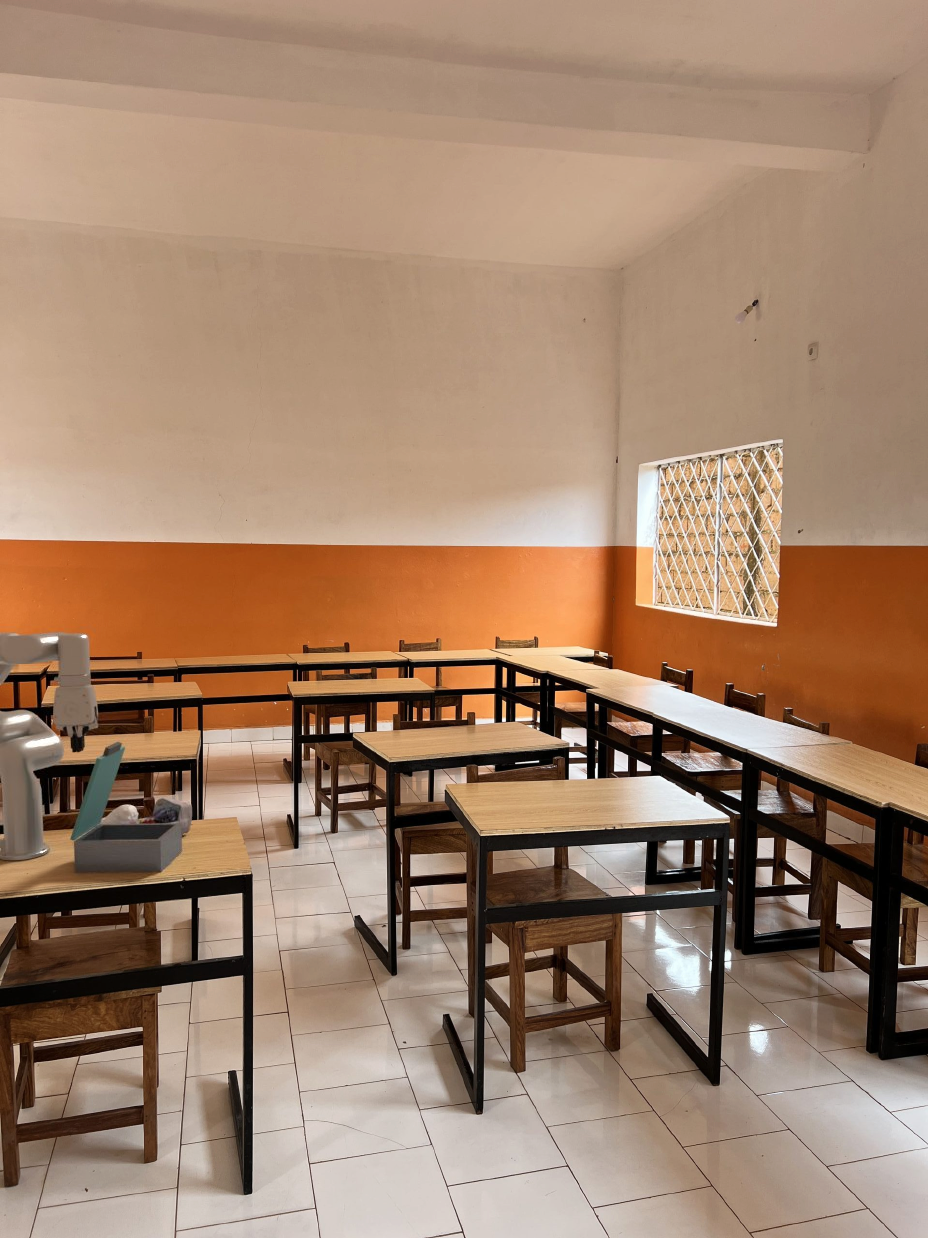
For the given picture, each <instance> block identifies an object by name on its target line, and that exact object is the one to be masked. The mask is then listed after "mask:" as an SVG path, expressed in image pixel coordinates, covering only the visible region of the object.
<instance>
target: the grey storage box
mask: <svg viewBox="0 0 928 1238" xmlns="http://www.w3.org/2000/svg"><path fill="white" fill-rule="evenodd" d="M182 835H183V834H182V831H181V823H154V824H100V825H98V826H95V827H94V828H92V829H91V830H89V831H88V832H86V833H85V834H83V835H82V836H80V837H79V838H77V839H76V840H74V841H73V852H74V853H73V855H74V873H75V874H77V873H80V874H82V873H85V874H87V873H88V874H89V873H91V874H92V873H96V874H97V873H162V872H163V871H164V870H166V868H167V867H169V866H170V865H171V863H173V862H172V861H173V860H174V859H175V858H176V857H177V856H178V855H179V854H180V853H181V852H182V853H183V842H182V841H183V838H182V837H183V836H182ZM182 853H181V854H182ZM181 854H180V855H181ZM180 855H179V856H180ZM179 856H178V857H179ZM178 857H177V858H178ZM177 858H176V859H177ZM176 859H175V860H176ZM175 860H174V861H175Z"/></svg>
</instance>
